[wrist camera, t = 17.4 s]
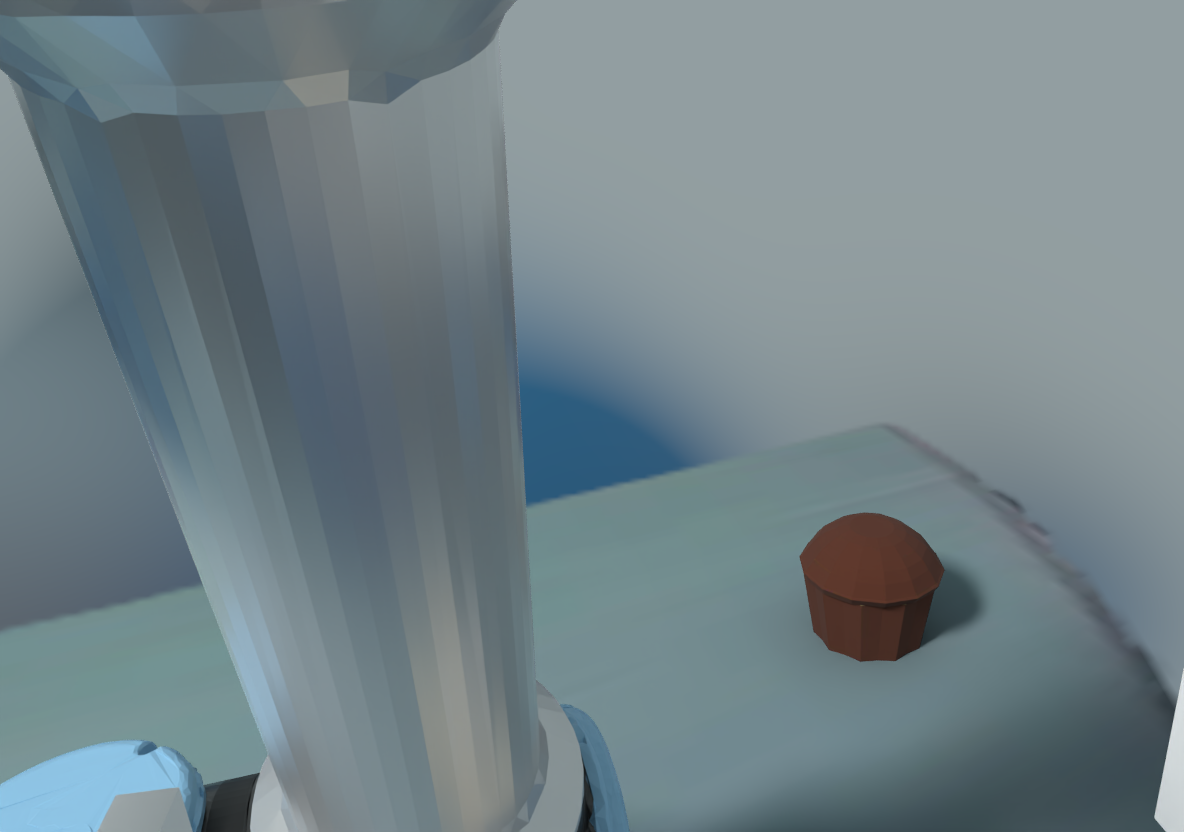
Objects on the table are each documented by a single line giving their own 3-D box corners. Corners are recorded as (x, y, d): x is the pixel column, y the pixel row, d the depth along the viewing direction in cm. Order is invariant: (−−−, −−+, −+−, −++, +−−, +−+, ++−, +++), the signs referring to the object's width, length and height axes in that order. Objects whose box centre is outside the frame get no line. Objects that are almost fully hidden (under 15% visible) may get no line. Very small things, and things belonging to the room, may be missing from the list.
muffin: (792, 593, 84) (792, 495, 81) (917, 590, 83) (923, 490, 80) (811, 676, 73) (812, 566, 70) (955, 673, 72) (964, 562, 69)
